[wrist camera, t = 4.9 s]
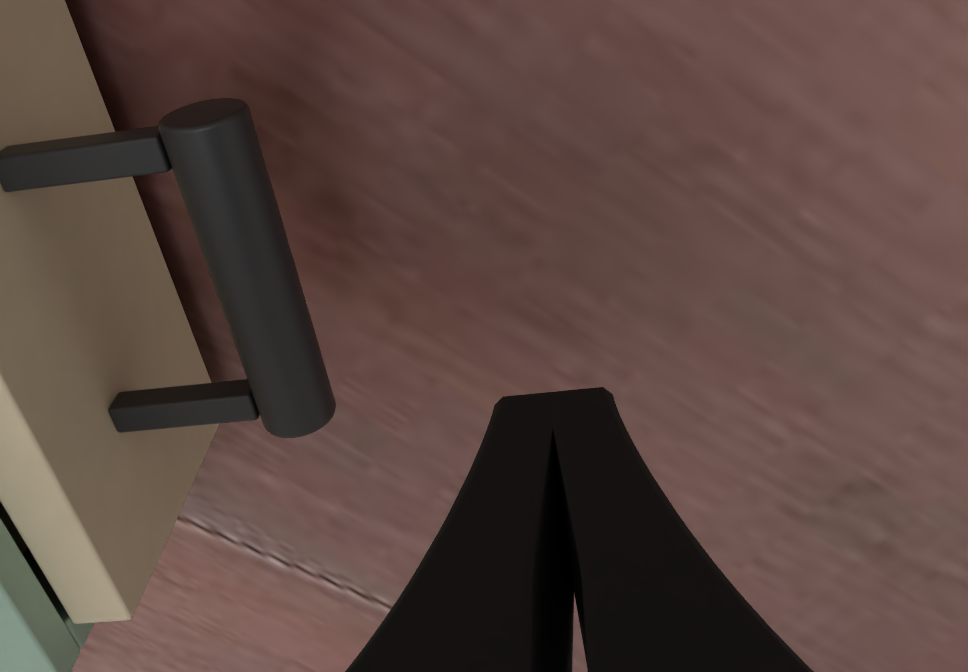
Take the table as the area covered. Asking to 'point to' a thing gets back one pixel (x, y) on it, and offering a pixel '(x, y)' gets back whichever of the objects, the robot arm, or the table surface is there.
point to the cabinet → (33, 616)
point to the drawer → (126, 316)
